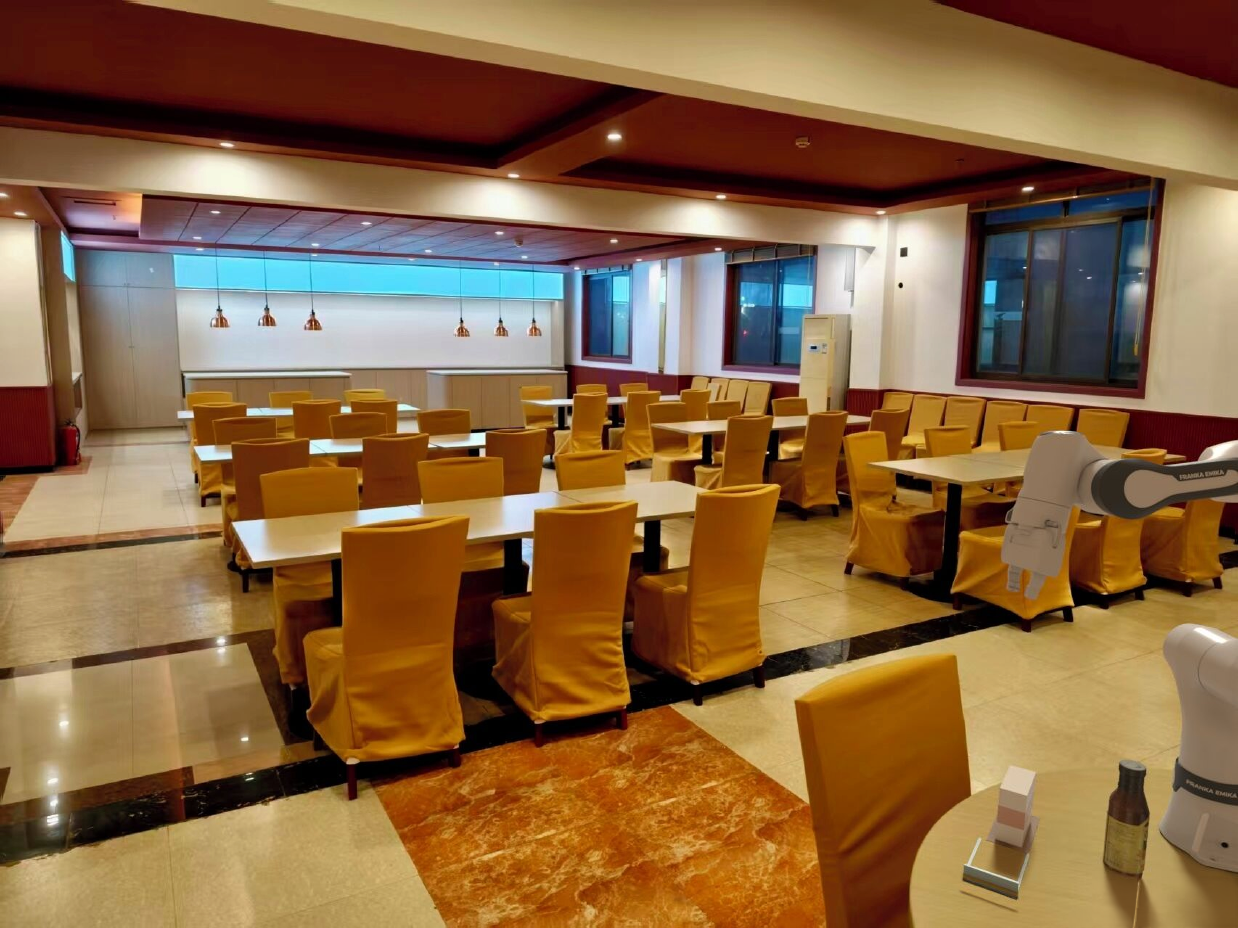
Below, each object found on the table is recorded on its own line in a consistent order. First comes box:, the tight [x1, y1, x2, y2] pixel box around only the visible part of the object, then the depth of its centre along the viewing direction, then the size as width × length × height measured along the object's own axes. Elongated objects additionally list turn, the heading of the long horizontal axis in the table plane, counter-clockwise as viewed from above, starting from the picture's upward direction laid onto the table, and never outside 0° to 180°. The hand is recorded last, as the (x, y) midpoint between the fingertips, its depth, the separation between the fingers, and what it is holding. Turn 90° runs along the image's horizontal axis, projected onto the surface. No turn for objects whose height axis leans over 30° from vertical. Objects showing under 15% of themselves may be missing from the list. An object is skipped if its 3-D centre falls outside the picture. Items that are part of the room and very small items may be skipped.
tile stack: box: [995, 764, 1037, 847], centre depth 157 cm, size 4×10×10 cm, turn 146°
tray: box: [962, 837, 1031, 901], centre depth 147 cm, size 8×12×3 cm
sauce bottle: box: [1102, 759, 1151, 882], centre depth 146 cm, size 7×6×20 cm
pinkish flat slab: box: [985, 815, 1041, 854], centre depth 158 cm, size 7×14×2 cm, turn 146°
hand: (1020, 594), depth 151 cm, fingers open, 8 cm apart
